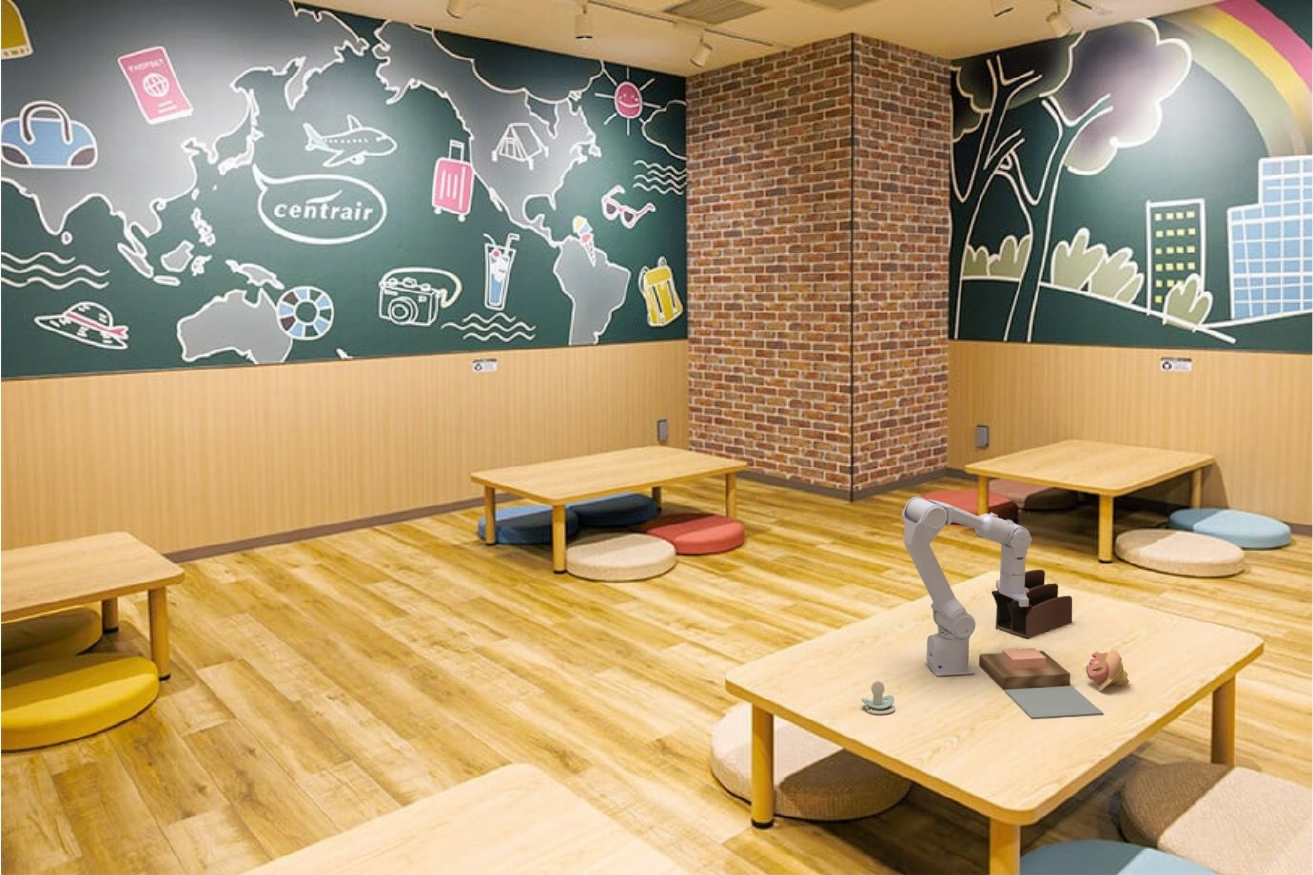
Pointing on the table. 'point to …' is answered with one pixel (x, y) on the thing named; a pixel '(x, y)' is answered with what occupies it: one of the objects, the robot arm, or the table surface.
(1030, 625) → the letter holder
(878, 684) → the pacifier
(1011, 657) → the tile
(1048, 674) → the step
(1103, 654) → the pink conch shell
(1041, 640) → the table surface
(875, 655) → the table surface
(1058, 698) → the mat
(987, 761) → the table surface
